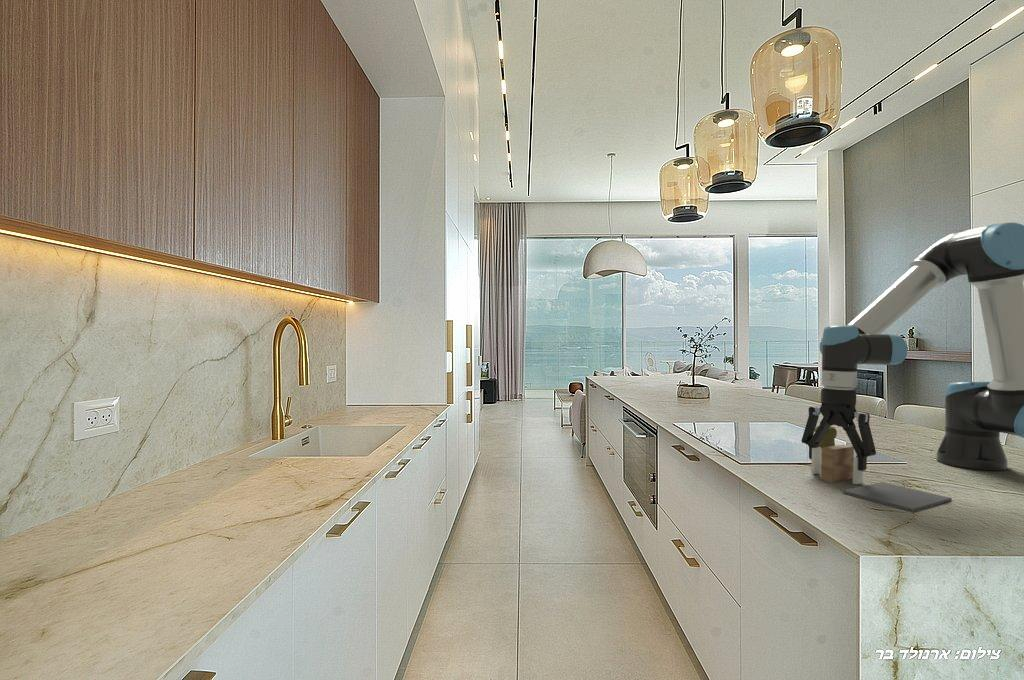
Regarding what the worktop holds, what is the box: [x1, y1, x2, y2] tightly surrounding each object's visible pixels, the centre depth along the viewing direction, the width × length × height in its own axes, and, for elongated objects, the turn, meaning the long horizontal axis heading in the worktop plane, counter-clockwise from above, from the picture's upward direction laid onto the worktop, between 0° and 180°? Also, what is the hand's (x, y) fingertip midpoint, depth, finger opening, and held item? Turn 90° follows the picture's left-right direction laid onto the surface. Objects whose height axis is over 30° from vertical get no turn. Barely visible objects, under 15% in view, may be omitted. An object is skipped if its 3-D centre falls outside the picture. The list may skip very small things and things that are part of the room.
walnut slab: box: [819, 444, 855, 483], centre depth 135 cm, size 9×3×8 cm, turn 119°
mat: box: [842, 481, 952, 512], centre depth 121 cm, size 16×14×1 cm
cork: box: [814, 425, 838, 449], centre depth 148 cm, size 6×6×11 cm
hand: (836, 477), depth 135 cm, fingers open, 10 cm apart
